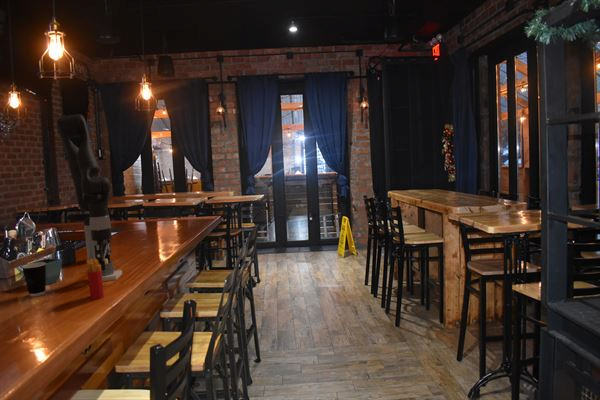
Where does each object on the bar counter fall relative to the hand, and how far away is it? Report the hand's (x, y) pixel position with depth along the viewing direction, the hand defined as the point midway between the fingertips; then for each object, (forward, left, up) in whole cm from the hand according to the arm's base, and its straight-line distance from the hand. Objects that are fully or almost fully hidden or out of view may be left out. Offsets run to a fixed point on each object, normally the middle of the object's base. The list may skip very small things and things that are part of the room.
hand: (105, 267), depth 195 cm
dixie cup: (+16, -20, -4) cm, 26 cm away
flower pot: (-1, -23, -4) cm, 23 cm away
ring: (0, 0, -3) cm, 3 cm away
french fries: (+28, +4, -4) cm, 29 cm away
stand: (0, 0, -4) cm, 4 cm away
